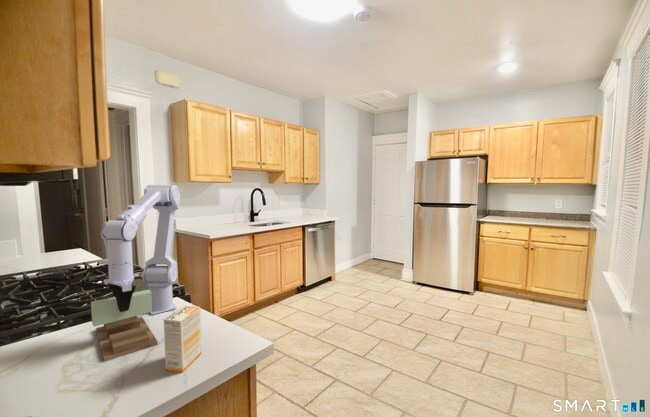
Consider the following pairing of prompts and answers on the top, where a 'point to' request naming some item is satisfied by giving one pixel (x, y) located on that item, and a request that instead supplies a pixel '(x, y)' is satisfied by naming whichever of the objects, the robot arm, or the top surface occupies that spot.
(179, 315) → the supplement box
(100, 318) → the sage block
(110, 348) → the slotted plank
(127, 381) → the top surface
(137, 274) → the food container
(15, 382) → the top surface
